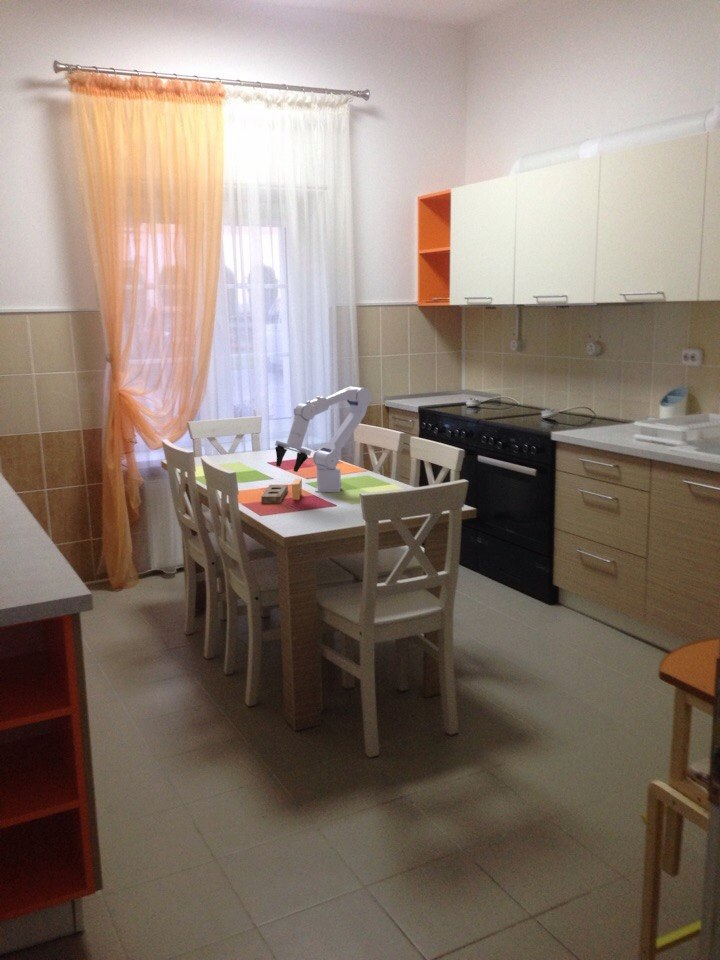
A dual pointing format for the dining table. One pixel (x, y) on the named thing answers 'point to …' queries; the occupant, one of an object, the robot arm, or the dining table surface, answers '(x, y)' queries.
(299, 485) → the tan wooden beam
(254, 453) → the dining table surface
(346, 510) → the dining table surface
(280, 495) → the rail
